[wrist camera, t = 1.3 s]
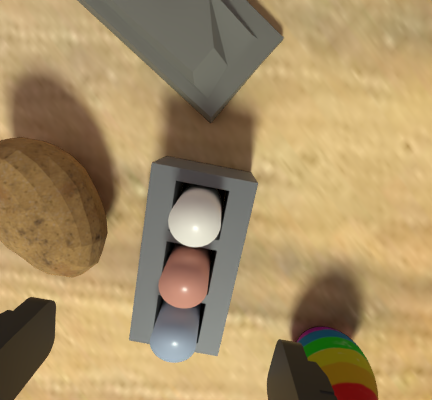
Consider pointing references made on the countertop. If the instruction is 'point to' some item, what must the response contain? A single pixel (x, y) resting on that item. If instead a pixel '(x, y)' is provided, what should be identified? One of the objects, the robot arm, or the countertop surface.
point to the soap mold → (193, 43)
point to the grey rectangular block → (222, 245)
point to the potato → (49, 208)
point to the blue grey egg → (175, 332)
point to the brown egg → (185, 276)
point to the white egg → (196, 216)
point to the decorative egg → (340, 363)
